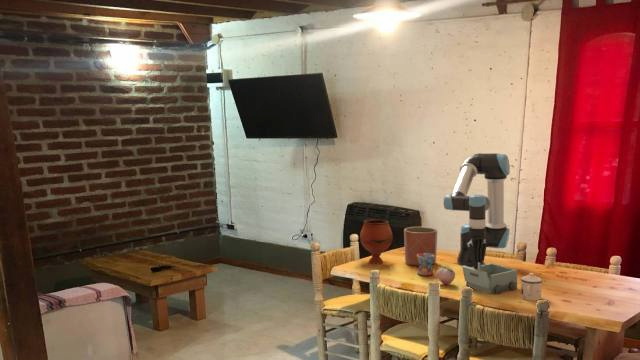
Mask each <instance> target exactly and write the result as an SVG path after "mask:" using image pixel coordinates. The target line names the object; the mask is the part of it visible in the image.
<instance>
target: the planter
mask: <svg viewBox="0 0 640 360" xmlns="http://www.w3.org/2000/svg"><path fill="white" fill-rule="evenodd" d="M403 238H404V239H403V240H404V241H403V242H404V260H405V263H406V265H413V266H418V267H419V261H418V257H417V254H420V253H429V254H433V255H434V259H433V262H432V265H435V264H436V263H437V250H438V248H437V247H438V229H437V228H434V227H430V226H429V227H428V226H409V227H405V228H404V229H403Z"/></svg>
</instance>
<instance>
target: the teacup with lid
mask: <svg viewBox="0 0 640 360" xmlns="http://www.w3.org/2000/svg"><path fill="white" fill-rule="evenodd" d="M520 280H521V281H520V282H521V284H520V297H521V298H522V299H523V300H525V301H526V300H527V301H533V302H535V301H536V300H537V301H540V300H541V299H542V282H543V280H542V278H541V277H538V276H537V275H535V273H533V272H529V274H527V275H524V276H521V278H520ZM539 299H540V300H539ZM537 301H536V302H537Z"/></svg>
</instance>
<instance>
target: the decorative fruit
mask: <svg viewBox="0 0 640 360" xmlns="http://www.w3.org/2000/svg"><path fill="white" fill-rule="evenodd" d="M435 275H436V278H437V280H438V281H439V282H440V283H442V284H444V285H448V284H451V283H453V282H454V281H455V278H456V277H455V276H456V273H455V270H454V269H453V268H451V267H447V266H443V265H442V266H438V269H437V270H436V274H435Z"/></svg>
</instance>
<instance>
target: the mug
mask: <svg viewBox="0 0 640 360" xmlns="http://www.w3.org/2000/svg"><path fill="white" fill-rule="evenodd" d="M417 257H418V261H419V266H418V270H417V272H416V273H417V274H418V275H420V276H424V277H425V276H427V277H428V276H432V275H433V274H434V272H433V271H434V270H433V268H432V267H433V264H432V262H433V259H434V255H433V254H429V253H420V254H417Z"/></svg>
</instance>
